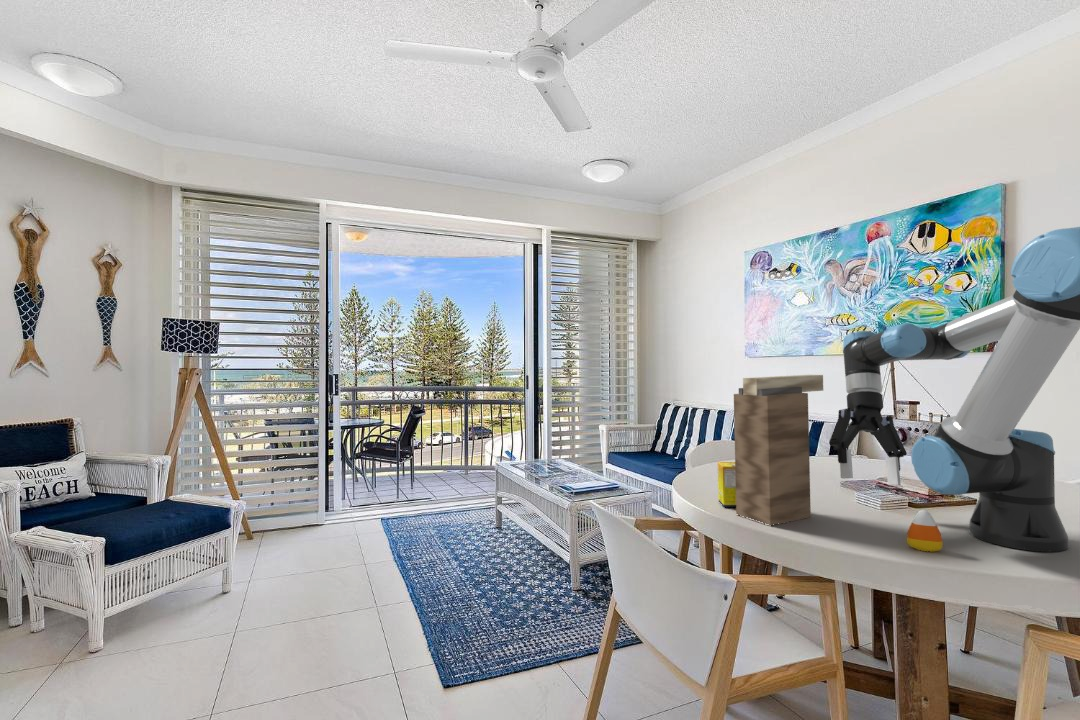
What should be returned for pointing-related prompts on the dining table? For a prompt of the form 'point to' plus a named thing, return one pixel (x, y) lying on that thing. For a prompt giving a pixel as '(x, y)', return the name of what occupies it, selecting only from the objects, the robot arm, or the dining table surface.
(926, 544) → the candy corn
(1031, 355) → the robot arm
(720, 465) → the supplement box
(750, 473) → the walnut stand
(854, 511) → the dining table surface
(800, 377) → the maple bar
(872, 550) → the dining table surface
